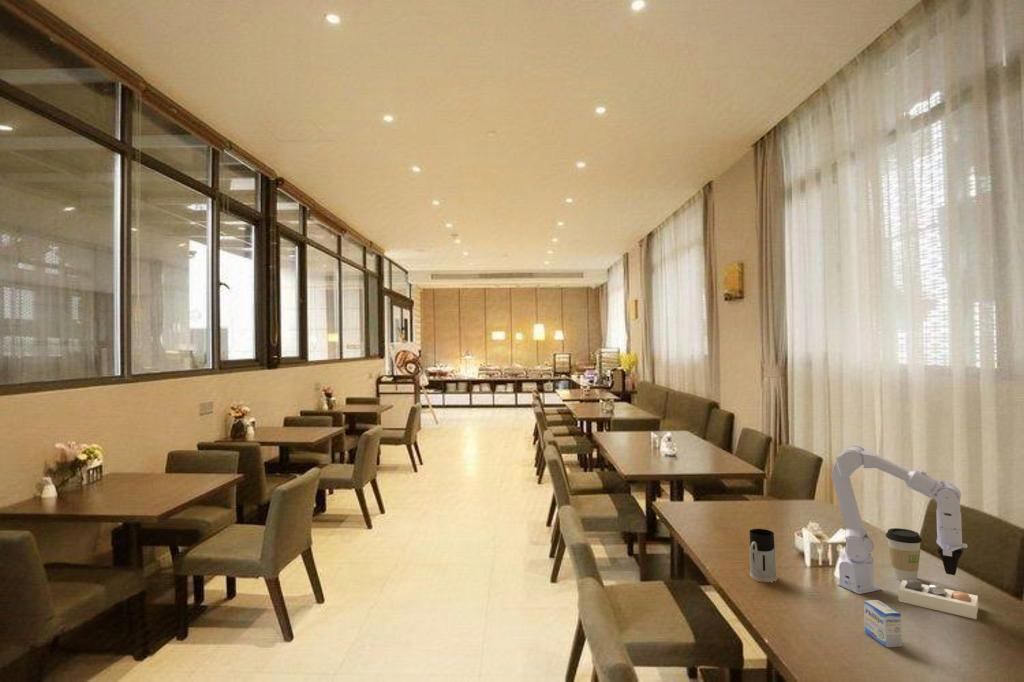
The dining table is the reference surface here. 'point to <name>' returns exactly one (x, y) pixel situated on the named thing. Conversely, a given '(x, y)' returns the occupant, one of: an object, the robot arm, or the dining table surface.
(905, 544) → the coffee cup
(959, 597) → the tan rounded lump
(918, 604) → the cream rectangular tray
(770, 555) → the glass holder
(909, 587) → the grey stone
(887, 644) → the medicine box
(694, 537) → the dining table surface
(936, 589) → the grey rock
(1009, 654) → the dining table surface
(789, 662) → the dining table surface
